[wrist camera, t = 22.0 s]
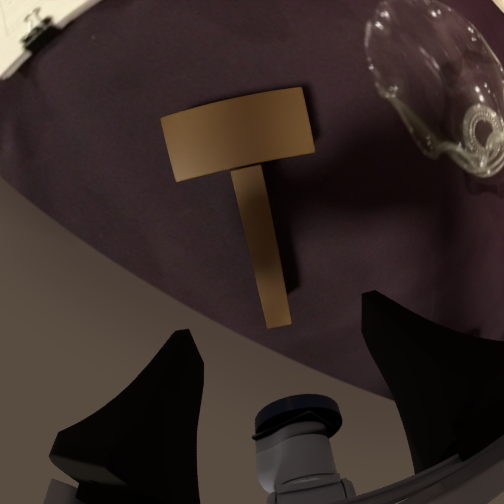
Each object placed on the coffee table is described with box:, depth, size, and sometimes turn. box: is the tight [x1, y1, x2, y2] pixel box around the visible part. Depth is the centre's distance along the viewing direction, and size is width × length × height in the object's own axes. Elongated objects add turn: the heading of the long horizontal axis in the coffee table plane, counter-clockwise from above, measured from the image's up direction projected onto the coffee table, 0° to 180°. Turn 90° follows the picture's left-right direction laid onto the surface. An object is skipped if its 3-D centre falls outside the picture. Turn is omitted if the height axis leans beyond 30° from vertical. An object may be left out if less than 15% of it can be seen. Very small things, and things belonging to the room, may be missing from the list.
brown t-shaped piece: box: [160, 87, 315, 329], centre depth 17 cm, size 8×14×3 cm, turn 12°
